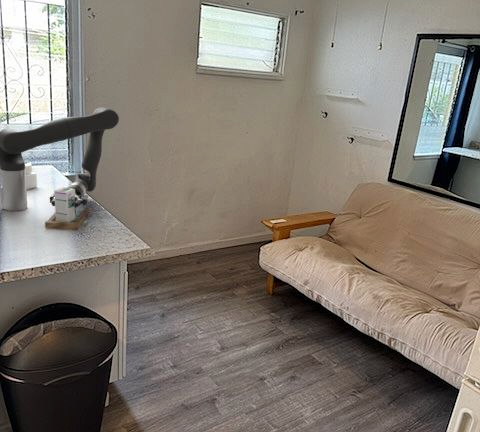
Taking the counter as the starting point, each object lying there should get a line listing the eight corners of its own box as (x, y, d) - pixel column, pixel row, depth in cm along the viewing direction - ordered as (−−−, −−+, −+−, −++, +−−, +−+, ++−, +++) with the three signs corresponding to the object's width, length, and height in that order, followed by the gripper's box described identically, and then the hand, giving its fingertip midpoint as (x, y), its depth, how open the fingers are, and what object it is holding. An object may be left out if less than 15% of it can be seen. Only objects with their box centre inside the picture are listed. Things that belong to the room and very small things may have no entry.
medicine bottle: (14, 187, 214) (12, 163, 210) (26, 184, 220) (25, 160, 216) (25, 190, 212) (24, 165, 208) (37, 187, 218) (36, 163, 214)
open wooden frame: (45, 228, 172) (45, 222, 171) (61, 210, 192) (60, 204, 191) (83, 230, 174) (82, 224, 173) (94, 212, 194) (94, 206, 193)
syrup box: (68, 226, 176) (67, 192, 171) (55, 224, 177) (53, 189, 172) (76, 222, 181) (75, 188, 176) (63, 219, 182) (62, 186, 177)
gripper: (57, 183, 188) (45, 194, 173) (92, 185, 190) (82, 197, 175) (58, 199, 191) (46, 212, 176) (92, 202, 193) (83, 214, 177)
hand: (64, 204), depth 175 cm, fingers open, 8 cm apart
